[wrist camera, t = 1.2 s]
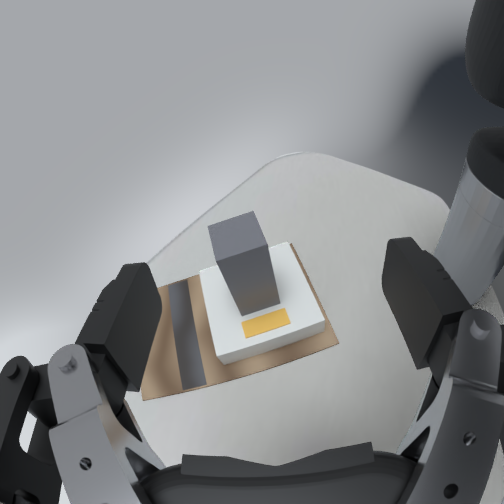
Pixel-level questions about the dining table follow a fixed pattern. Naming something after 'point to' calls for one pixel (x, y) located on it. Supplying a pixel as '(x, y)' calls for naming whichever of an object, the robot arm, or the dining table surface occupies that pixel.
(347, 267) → the dining table surface
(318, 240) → the dining table surface
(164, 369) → the subfloor panel
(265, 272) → the block on square base
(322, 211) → the dining table surface
